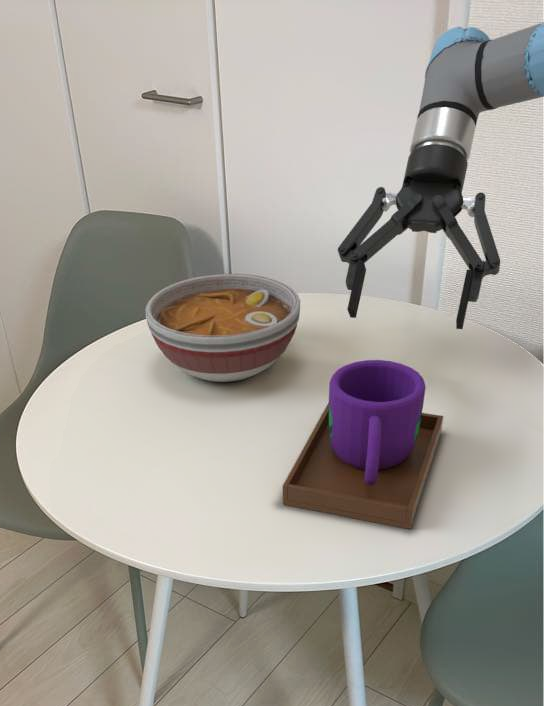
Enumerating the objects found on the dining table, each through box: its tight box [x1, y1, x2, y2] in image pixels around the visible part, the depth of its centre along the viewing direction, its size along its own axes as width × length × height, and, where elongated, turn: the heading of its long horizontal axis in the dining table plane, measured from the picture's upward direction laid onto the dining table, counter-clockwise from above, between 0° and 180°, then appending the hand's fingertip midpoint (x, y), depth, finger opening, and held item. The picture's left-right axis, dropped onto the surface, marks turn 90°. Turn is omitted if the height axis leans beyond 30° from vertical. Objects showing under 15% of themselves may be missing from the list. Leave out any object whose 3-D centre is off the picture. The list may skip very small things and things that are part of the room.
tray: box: [282, 402, 444, 530], centre depth 94 cm, size 15×21×3 cm
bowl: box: [145, 273, 301, 383], centre depth 114 cm, size 23×23×10 cm
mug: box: [328, 359, 427, 485], centre depth 91 cm, size 17×11×10 cm, turn 171°
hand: (404, 319), depth 95 cm, fingers open, 13 cm apart
